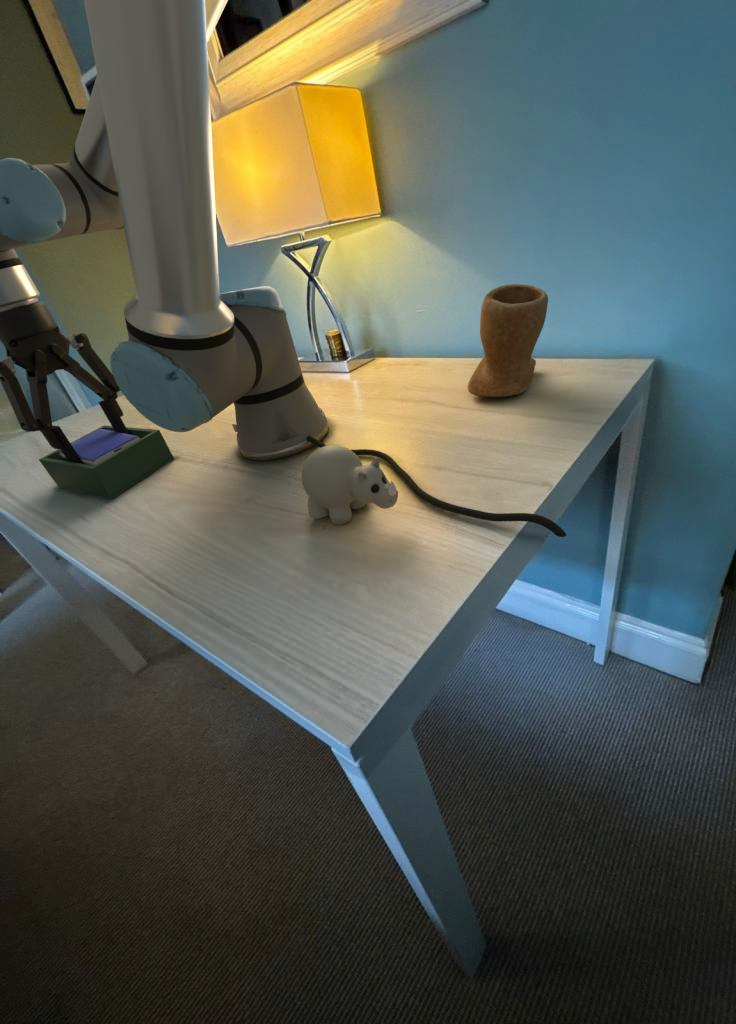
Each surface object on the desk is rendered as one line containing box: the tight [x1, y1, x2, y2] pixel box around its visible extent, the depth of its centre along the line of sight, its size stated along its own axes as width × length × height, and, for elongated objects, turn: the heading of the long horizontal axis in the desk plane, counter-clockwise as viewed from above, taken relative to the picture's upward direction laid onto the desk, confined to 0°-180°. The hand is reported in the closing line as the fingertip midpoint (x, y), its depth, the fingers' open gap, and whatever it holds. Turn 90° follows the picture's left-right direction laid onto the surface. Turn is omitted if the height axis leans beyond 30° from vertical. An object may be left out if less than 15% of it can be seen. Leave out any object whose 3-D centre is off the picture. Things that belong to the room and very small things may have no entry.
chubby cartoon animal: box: [301, 444, 399, 525], centre depth 49 cm, size 7×12×8 cm, turn 55°
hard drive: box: [57, 429, 140, 466], centre depth 74 cm, size 2×8×12 cm
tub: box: [38, 425, 175, 500], centre depth 75 cm, size 17×13×6 cm
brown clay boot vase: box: [467, 283, 549, 398], centre depth 69 cm, size 15×12×15 cm
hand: (101, 449), depth 74 cm, fingers closed on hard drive, 8 cm apart
